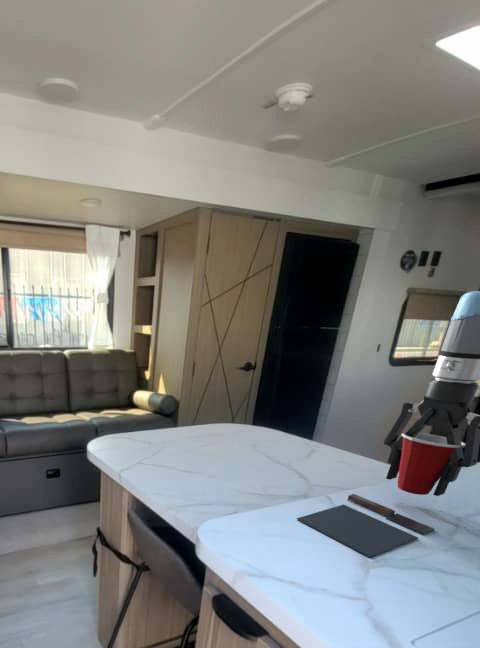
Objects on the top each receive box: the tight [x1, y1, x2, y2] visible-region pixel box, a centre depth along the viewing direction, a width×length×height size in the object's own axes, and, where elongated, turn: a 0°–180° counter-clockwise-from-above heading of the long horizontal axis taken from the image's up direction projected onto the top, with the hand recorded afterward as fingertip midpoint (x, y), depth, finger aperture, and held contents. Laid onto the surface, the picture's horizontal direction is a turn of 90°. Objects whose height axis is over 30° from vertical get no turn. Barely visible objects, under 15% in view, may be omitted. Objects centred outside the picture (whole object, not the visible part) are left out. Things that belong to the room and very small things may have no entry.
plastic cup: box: [397, 431, 466, 496], centre depth 86 cm, size 11×11×12 cm
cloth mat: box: [296, 503, 419, 559], centre depth 79 cm, size 15×15×1 cm
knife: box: [347, 493, 435, 536], centre depth 85 cm, size 16×4×1 cm, turn 27°
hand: (413, 485), depth 88 cm, fingers closed on plastic cup, 9 cm apart
